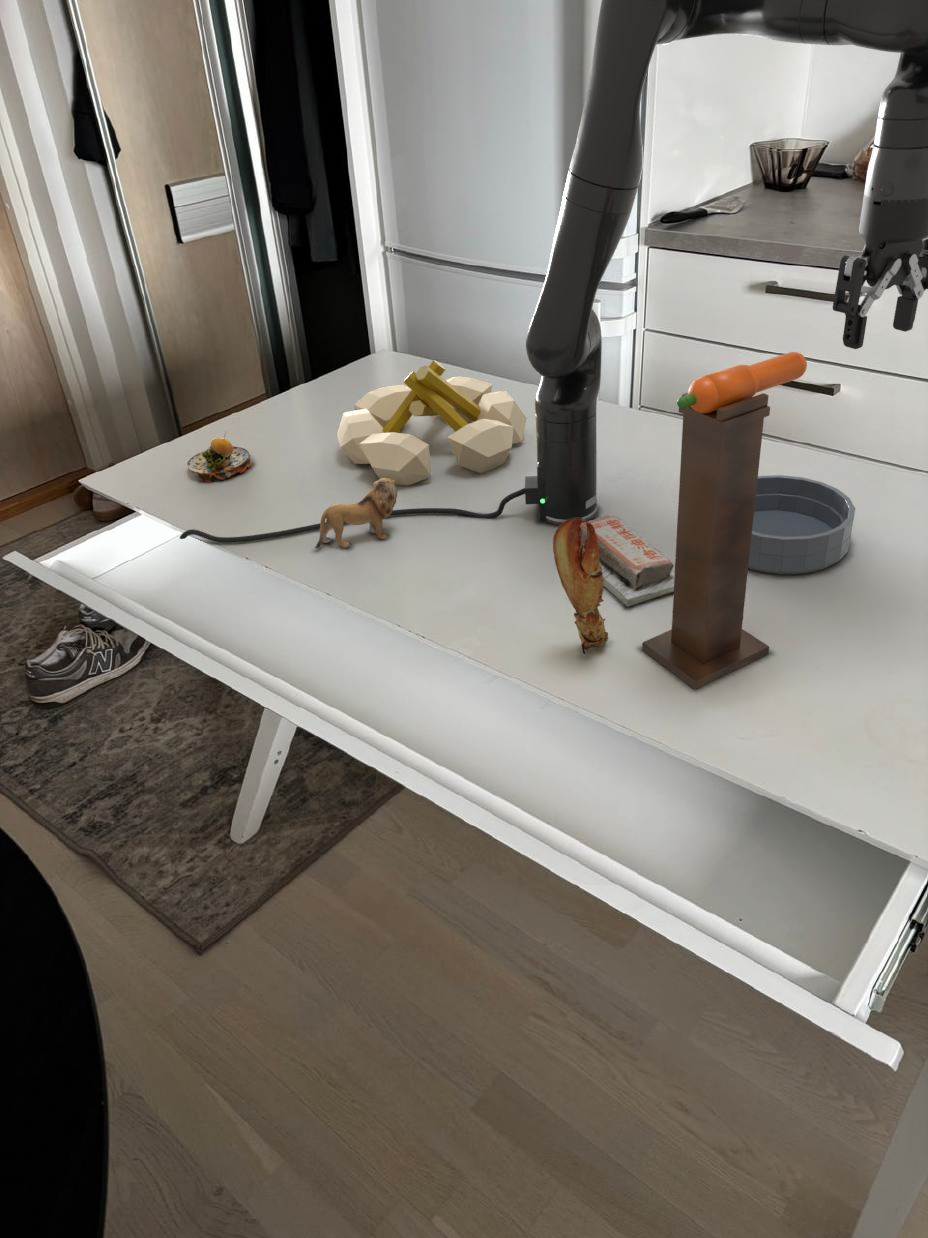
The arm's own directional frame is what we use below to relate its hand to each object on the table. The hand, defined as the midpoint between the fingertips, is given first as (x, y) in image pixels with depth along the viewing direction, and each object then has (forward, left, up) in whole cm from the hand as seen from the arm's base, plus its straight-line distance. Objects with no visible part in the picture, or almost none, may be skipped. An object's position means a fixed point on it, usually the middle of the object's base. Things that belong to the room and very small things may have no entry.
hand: (877, 338), depth 111 cm
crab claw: (-35, -14, -34) cm, 51 cm away
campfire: (-62, +51, -34) cm, 87 cm away
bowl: (-6, +12, -34) cm, 37 cm away
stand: (-20, -15, -34) cm, 42 cm away
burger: (-102, +45, -34) cm, 116 cm away
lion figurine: (-70, +17, -34) cm, 79 cm away
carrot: (-18, -14, -1) cm, 22 cm away
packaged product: (-29, +5, -34) cm, 45 cm away
